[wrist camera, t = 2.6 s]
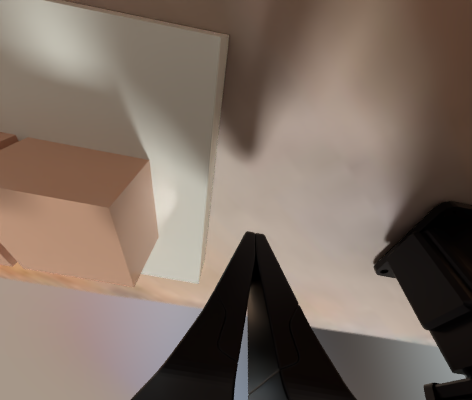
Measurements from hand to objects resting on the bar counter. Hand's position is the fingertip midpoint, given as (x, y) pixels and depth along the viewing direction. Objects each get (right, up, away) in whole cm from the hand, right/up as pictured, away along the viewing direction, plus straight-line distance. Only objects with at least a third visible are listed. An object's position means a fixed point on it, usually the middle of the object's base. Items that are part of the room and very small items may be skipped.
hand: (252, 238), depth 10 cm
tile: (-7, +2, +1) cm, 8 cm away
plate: (-9, +4, +2) cm, 10 cm away
